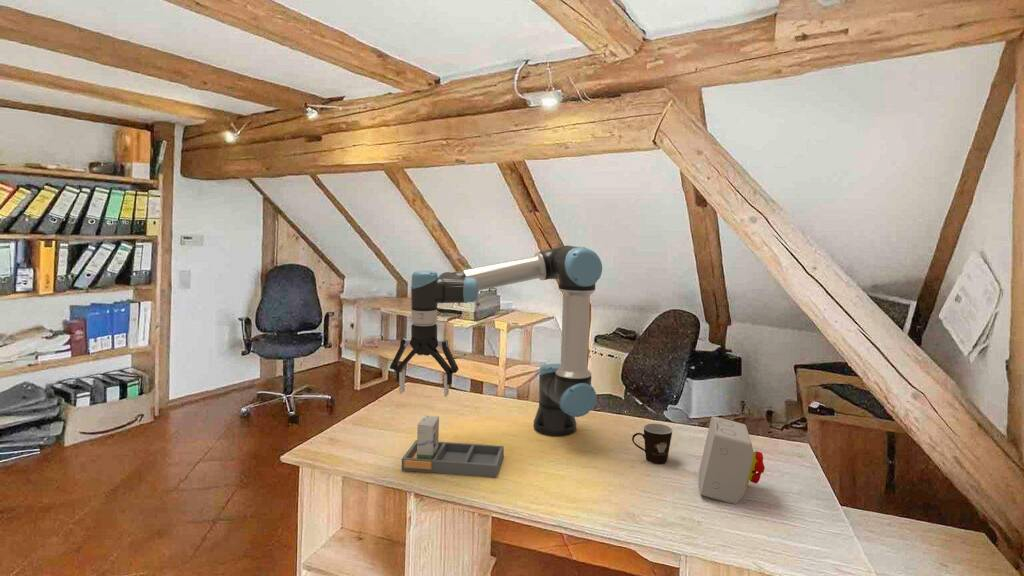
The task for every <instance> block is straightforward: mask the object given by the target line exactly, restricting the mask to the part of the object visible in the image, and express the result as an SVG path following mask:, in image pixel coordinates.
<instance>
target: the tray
mask: <svg viewBox="0 0 1024 576" xmlns="http://www.w3.org/2000/svg"><path fill="white" fill-rule="evenodd" d="M504 449H505V446H504V445H495V444H479V443H465V442H464V443H463V442H452V441H451V442H450V441H449V442H448V441H439V443H438V452H437V453H436V455H435V457H434V458H433V460H431V459H417V439H416V440H415V441H414V442H413V444H412V445H411V446H410V447H409V449H407V451H406V453H405V454H404V455H403V457H402V458H401V471H404V470H405V472H407V471H409V472H417V471H418V472H419V473H422V472H423V473H430V472H436V473H435V474H444V473H447V475H458V476H460V475H461V476H470V475H472V476H473V477H483V476H485V478H497V477H498V475H499V471H500V468H501V465H502V463H503V459H504V455H505V452H504ZM472 476H471V477H472ZM486 476H487V477H486Z"/></svg>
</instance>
